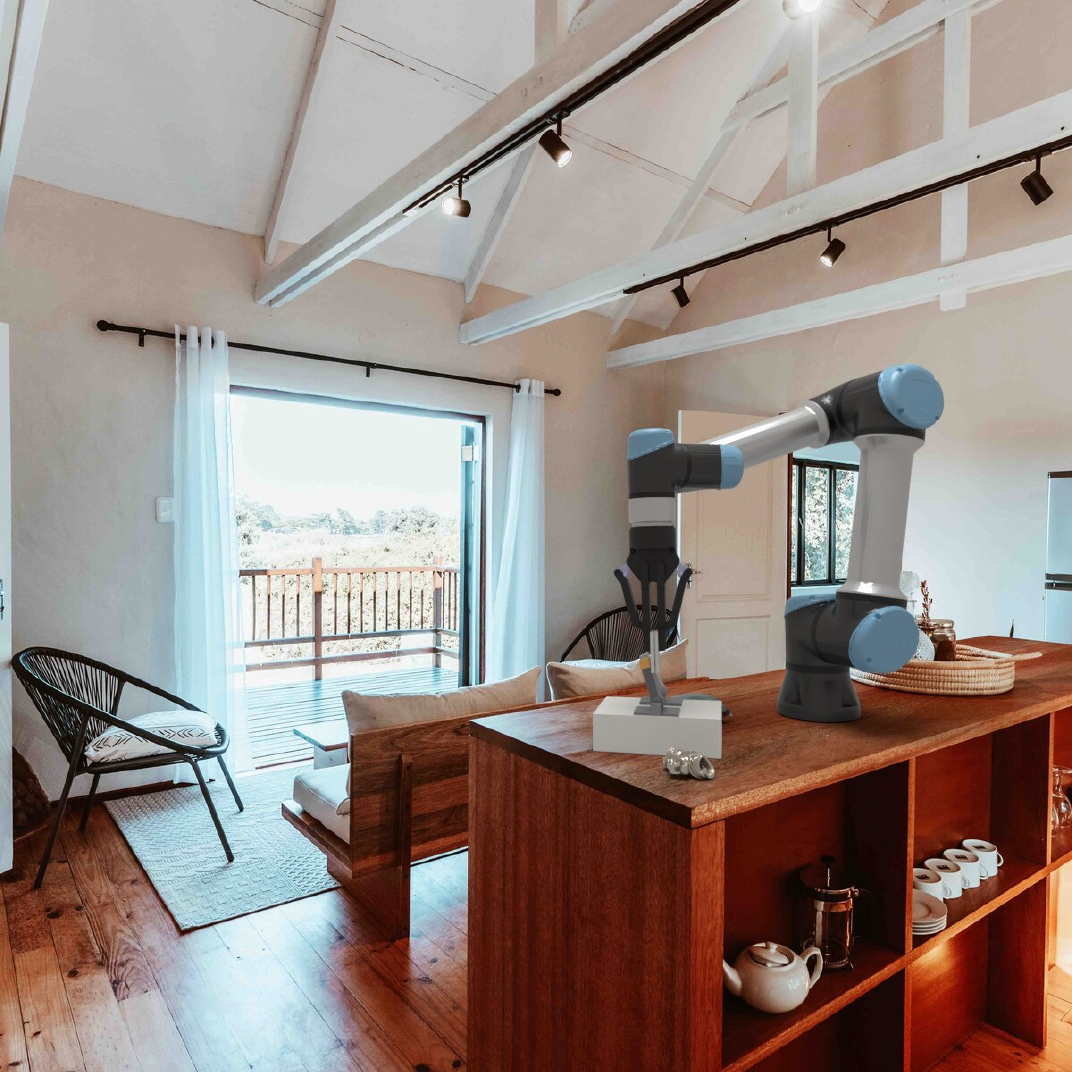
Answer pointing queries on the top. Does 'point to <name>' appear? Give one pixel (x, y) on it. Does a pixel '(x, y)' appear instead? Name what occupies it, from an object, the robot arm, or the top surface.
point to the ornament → (688, 763)
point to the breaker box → (658, 725)
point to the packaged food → (705, 697)
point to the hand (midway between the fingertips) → (655, 671)
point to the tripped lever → (651, 681)
